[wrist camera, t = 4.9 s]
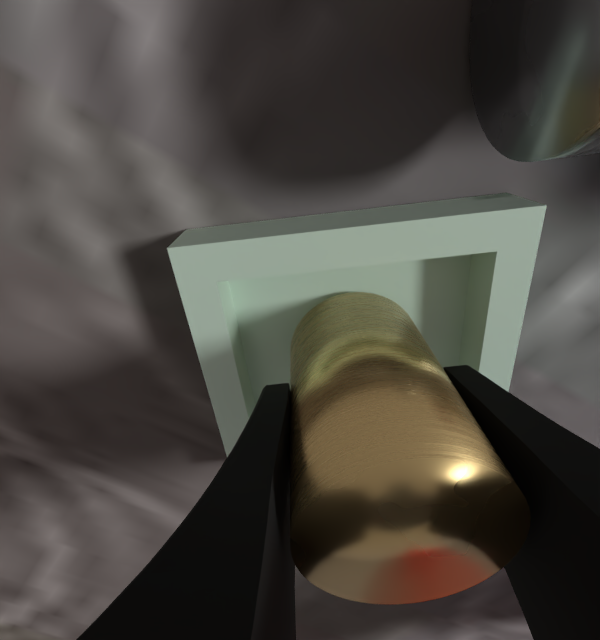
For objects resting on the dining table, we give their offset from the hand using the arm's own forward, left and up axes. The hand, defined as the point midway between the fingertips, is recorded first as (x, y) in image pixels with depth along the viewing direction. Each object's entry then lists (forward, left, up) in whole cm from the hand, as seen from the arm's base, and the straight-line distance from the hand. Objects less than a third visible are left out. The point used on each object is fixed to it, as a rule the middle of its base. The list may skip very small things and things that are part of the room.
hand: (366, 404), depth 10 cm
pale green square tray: (0, 0, -3) cm, 3 cm away
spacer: (0, 0, -2) cm, 2 cm away
